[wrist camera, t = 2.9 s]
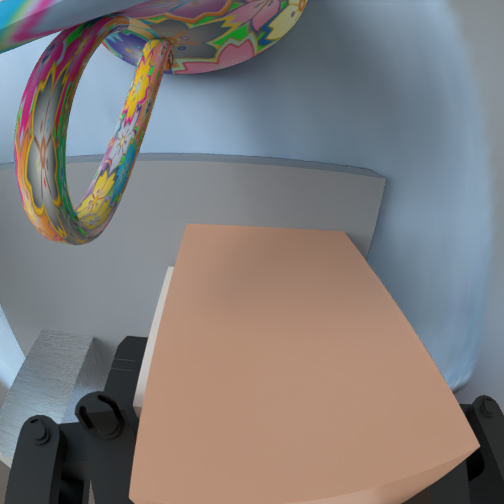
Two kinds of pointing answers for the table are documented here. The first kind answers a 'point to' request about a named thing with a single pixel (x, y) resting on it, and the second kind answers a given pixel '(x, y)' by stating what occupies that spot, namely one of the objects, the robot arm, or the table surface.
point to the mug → (140, 93)
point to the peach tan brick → (289, 380)
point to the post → (50, 384)
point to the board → (161, 235)
